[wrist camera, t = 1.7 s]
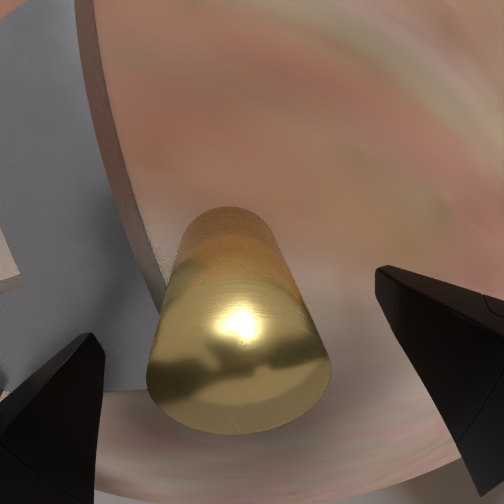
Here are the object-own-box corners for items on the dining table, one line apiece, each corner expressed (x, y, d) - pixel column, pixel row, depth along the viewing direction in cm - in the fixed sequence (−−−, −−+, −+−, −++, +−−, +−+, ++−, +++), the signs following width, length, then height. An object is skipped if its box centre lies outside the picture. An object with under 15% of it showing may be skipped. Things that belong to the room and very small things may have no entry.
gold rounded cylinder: (283, 283, 13) (331, 414, 7) (195, 303, 13) (185, 441, 7) (266, 196, 11) (326, 293, 5) (167, 220, 11) (112, 338, 5)
